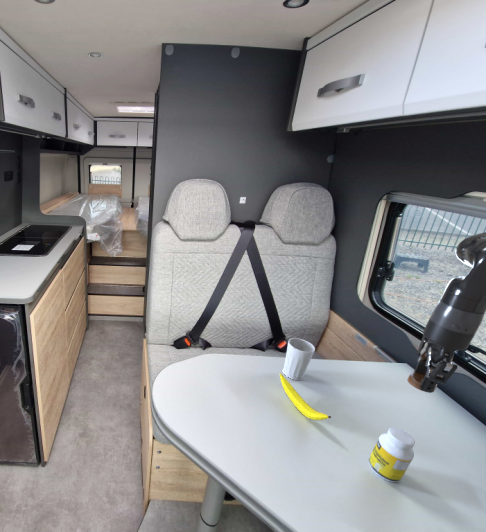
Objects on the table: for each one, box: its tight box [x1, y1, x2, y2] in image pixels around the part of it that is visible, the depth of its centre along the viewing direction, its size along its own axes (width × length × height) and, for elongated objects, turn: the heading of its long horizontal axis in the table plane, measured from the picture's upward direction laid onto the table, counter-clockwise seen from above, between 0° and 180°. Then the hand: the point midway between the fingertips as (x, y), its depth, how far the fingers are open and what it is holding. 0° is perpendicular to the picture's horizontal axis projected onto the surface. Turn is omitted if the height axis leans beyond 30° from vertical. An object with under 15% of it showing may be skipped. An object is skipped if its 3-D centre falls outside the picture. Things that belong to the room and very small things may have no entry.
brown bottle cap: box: [407, 371, 438, 394], centre depth 75 cm, size 5×5×2 cm
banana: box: [279, 372, 332, 421], centre depth 91 cm, size 3×19×6 cm, turn 15°
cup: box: [282, 337, 316, 381], centre depth 104 cm, size 8×8×12 cm
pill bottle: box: [368, 426, 416, 483], centre depth 73 cm, size 6×6×12 cm
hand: (421, 383), depth 75 cm, fingers closed on brown bottle cap, 5 cm apart
